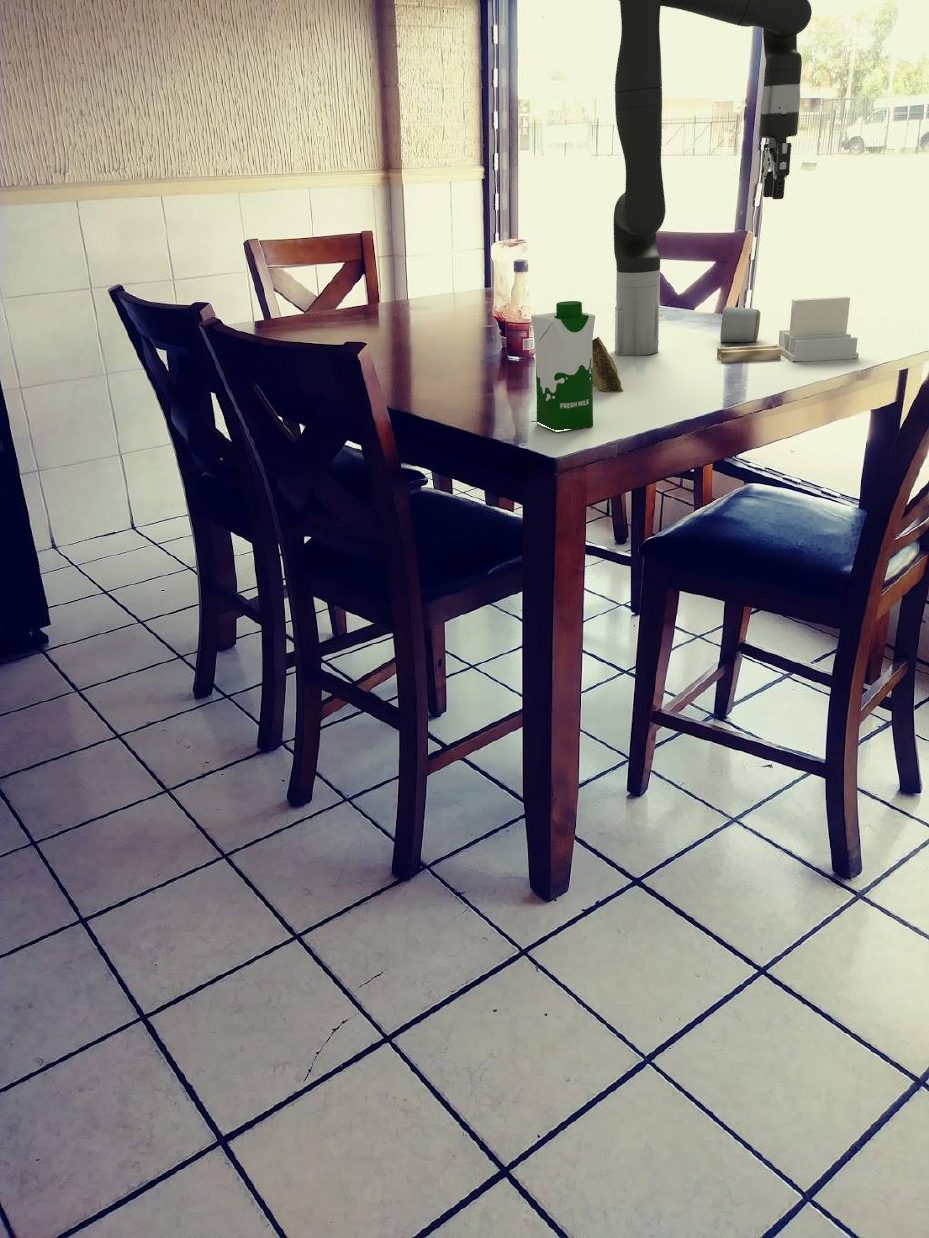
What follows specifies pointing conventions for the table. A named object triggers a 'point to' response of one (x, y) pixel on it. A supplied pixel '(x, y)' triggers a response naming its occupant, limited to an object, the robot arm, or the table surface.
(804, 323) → the plate
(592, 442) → the table surface
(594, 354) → the rock
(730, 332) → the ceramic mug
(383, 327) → the table surface
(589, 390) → the milk carton
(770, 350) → the stand
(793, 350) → the rack
